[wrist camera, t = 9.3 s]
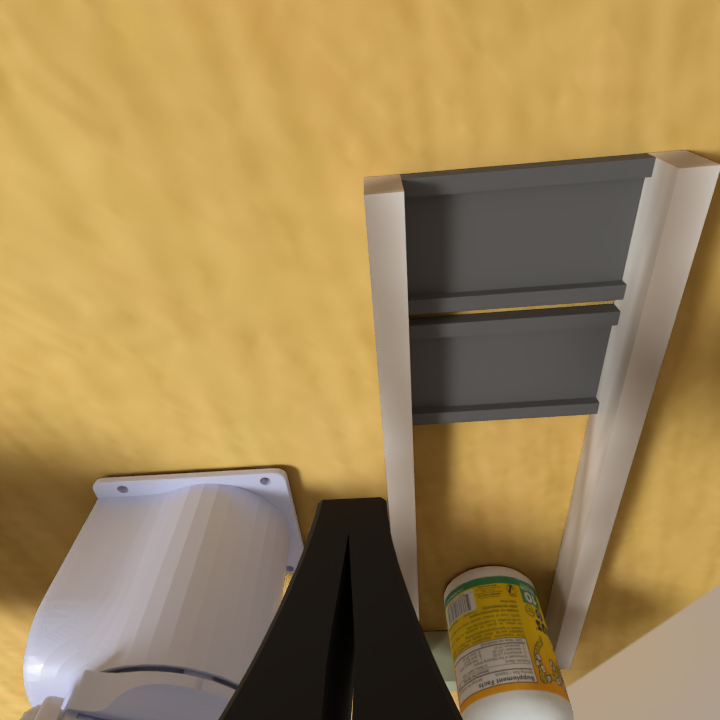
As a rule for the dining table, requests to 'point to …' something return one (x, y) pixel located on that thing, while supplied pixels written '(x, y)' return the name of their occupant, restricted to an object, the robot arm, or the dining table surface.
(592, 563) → the box
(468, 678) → the supplement bottle
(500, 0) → the dining table surface
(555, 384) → the trap pits
